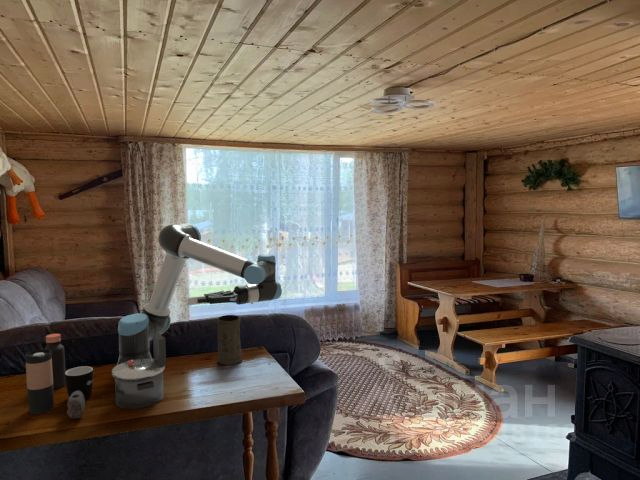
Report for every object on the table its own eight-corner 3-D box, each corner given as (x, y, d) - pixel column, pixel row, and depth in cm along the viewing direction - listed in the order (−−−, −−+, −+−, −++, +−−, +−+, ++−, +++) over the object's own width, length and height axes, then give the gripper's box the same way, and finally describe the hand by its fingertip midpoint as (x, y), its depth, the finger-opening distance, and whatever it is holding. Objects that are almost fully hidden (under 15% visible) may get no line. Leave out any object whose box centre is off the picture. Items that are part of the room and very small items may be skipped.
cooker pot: (170, 403, 159) (169, 375, 158) (121, 415, 150) (120, 386, 149) (155, 384, 175) (154, 359, 174) (111, 394, 166) (109, 367, 165)
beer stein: (239, 365, 195) (238, 320, 193) (214, 365, 195) (213, 320, 193) (245, 353, 210) (245, 311, 208) (223, 353, 210) (222, 311, 208)
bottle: (57, 381, 178) (54, 332, 176) (70, 383, 176) (67, 333, 174) (41, 388, 172) (38, 337, 170) (54, 390, 169) (51, 339, 168)
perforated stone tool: (70, 404, 158) (69, 385, 157) (87, 402, 160) (86, 383, 160) (65, 424, 144) (64, 403, 144) (84, 420, 147) (83, 400, 146)
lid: (170, 372, 159) (169, 342, 158) (117, 384, 149) (115, 351, 148) (157, 358, 174) (156, 330, 173) (107, 368, 164) (106, 338, 163)
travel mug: (36, 404, 158) (32, 349, 156) (58, 404, 158) (55, 348, 157) (23, 415, 150) (20, 357, 148) (47, 414, 151) (44, 356, 149)
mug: (89, 402, 160) (87, 374, 159) (62, 404, 158) (60, 376, 157) (100, 388, 171) (99, 362, 171) (75, 389, 170) (73, 363, 169)
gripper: (252, 306, 178) (194, 314, 165) (238, 300, 189) (182, 307, 176) (252, 288, 177) (193, 294, 164) (238, 282, 188) (182, 288, 175)
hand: (188, 301), depth 170 cm, fingers closed
